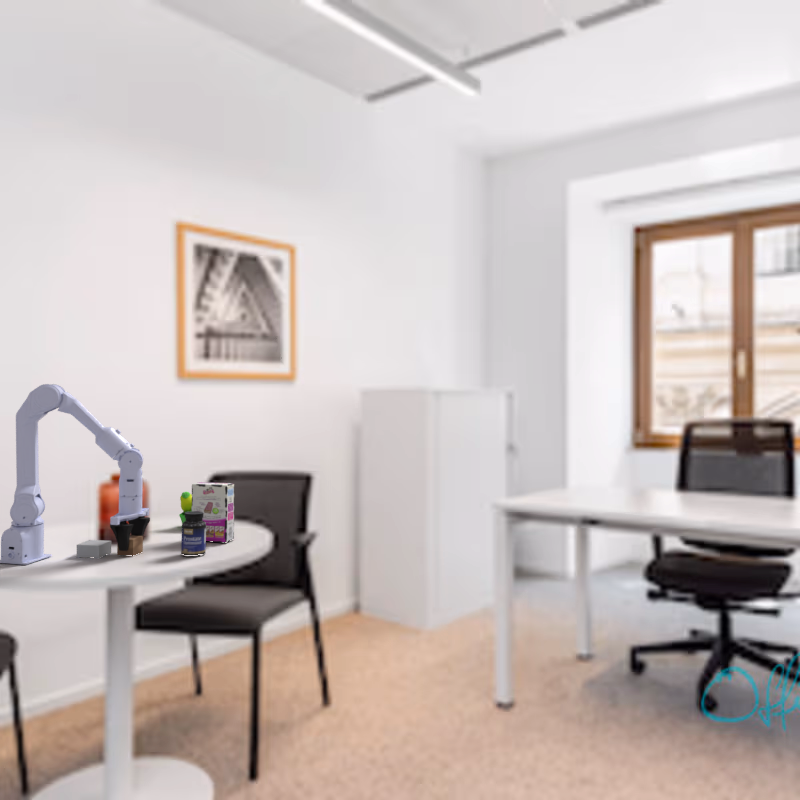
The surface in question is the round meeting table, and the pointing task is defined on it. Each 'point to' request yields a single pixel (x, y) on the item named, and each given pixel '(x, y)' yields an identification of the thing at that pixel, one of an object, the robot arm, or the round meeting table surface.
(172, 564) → the round meeting table surface
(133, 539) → the walnut cube
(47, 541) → the round meeting table surface
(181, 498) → the yellow green toy
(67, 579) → the round meeting table surface
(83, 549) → the grey block
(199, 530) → the pill bottle
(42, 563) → the round meeting table surface
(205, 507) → the candy bar box
